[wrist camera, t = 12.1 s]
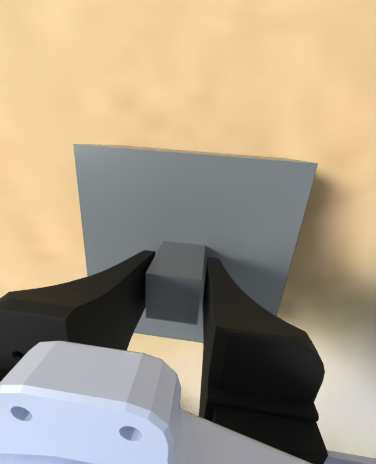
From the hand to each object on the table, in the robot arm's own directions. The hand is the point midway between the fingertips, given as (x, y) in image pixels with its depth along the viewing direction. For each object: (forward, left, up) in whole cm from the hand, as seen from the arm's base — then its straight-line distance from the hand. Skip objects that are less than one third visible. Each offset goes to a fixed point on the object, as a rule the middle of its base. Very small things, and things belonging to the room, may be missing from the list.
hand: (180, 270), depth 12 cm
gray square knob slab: (0, 0, -6) cm, 6 cm away
